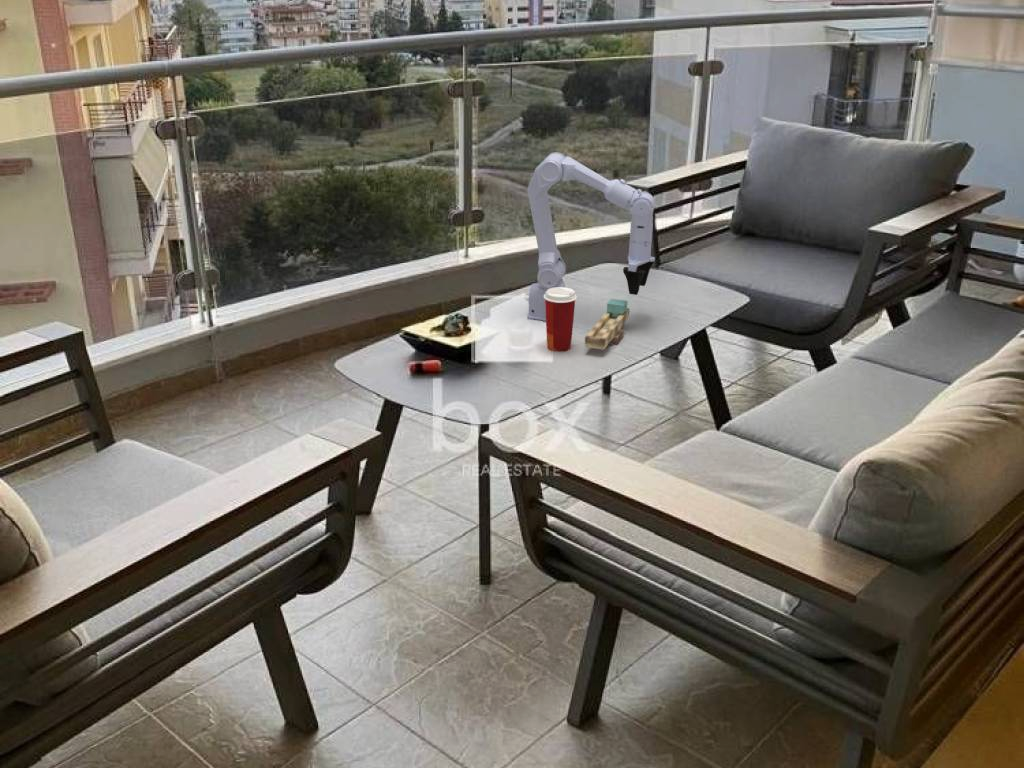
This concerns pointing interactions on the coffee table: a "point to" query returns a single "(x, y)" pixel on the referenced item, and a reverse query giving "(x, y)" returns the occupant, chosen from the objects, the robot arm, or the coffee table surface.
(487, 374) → the coffee table surface
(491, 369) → the coffee table surface
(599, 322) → the tan wooden slatted block
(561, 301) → the coffee cup
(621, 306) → the teal cube
